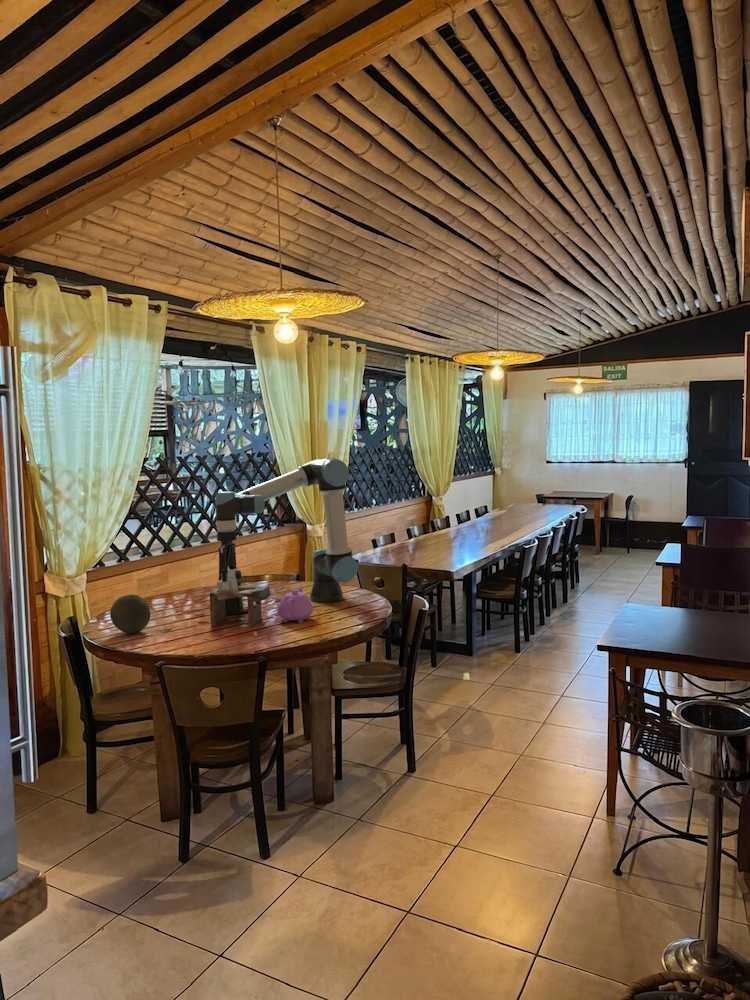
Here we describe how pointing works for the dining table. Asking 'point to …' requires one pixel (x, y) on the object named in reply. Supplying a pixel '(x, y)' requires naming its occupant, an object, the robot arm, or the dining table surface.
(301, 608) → the pink rounded figure
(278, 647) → the dining table surface
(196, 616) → the dining table surface
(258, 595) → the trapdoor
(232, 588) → the grey cube
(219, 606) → the hatch frame
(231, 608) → the coffee jar
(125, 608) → the dark grey ball
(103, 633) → the dining table surface
